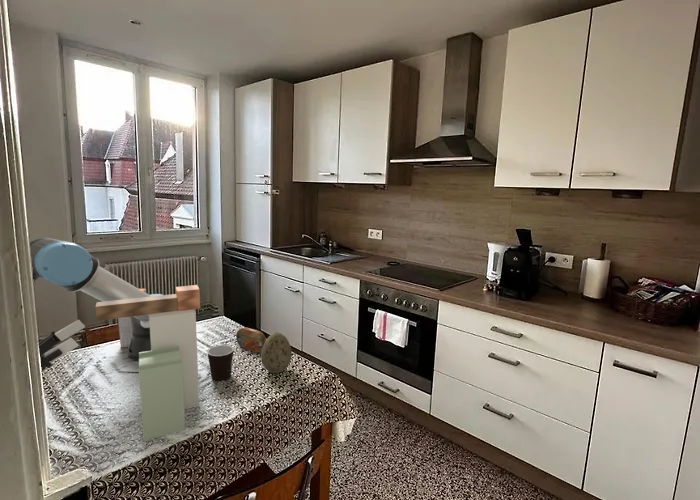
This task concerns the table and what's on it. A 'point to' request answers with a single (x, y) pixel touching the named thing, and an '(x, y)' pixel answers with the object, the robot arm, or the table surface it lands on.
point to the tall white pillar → (182, 333)
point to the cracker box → (126, 330)
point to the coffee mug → (220, 362)
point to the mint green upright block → (161, 392)
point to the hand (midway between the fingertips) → (78, 331)
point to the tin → (250, 339)
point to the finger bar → (150, 304)
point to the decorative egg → (276, 353)
